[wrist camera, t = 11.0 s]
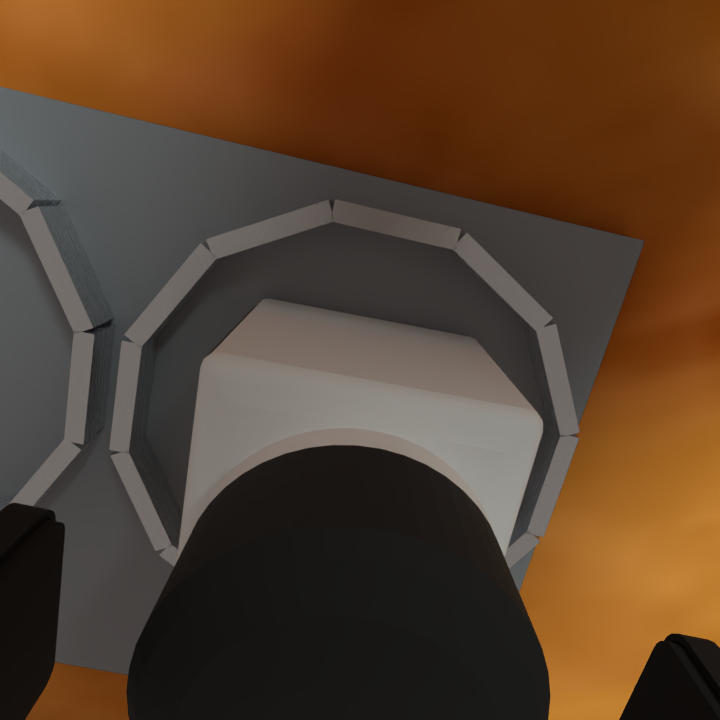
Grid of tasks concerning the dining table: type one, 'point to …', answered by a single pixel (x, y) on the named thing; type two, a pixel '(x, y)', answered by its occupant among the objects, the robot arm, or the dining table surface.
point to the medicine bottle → (346, 532)
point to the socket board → (237, 312)
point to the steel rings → (139, 349)
